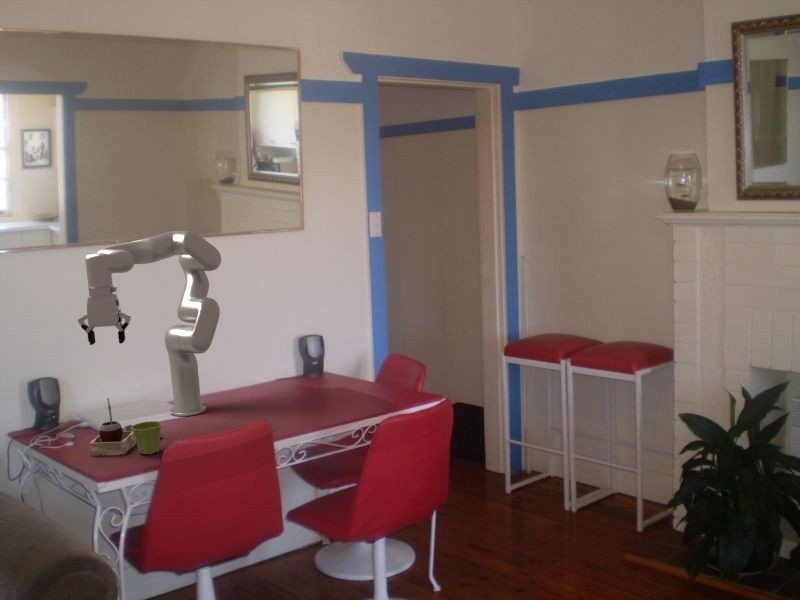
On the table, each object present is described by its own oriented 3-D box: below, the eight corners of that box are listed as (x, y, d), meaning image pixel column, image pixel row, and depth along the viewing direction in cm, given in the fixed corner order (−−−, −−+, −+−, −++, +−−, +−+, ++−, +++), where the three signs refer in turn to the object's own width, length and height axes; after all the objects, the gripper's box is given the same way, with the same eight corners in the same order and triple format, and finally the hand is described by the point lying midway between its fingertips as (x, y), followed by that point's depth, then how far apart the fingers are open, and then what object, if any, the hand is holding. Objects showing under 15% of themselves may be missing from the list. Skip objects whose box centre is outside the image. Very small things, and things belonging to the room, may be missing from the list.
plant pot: (137, 448, 300) (134, 422, 298) (167, 446, 300) (164, 420, 299) (131, 458, 291) (128, 431, 289) (161, 455, 291) (159, 428, 290)
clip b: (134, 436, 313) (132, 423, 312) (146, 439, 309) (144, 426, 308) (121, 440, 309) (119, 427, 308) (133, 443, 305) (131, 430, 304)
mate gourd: (111, 452, 295) (106, 406, 293) (94, 449, 299) (89, 403, 297) (129, 445, 301) (125, 400, 299) (113, 442, 306) (108, 397, 303)
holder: (104, 443, 306) (103, 431, 306) (136, 442, 306) (135, 430, 305) (90, 455, 295) (89, 443, 294) (124, 454, 294) (122, 442, 293)
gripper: (131, 288, 307) (137, 339, 310) (79, 291, 308) (85, 342, 311) (123, 292, 299) (129, 344, 302) (70, 294, 300) (76, 347, 303)
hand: (107, 343), depth 307 cm, fingers open, 9 cm apart
